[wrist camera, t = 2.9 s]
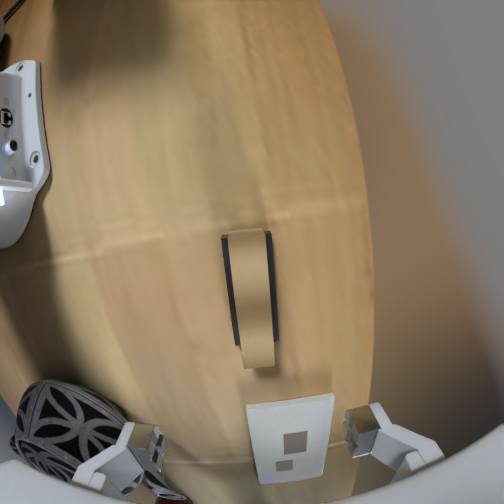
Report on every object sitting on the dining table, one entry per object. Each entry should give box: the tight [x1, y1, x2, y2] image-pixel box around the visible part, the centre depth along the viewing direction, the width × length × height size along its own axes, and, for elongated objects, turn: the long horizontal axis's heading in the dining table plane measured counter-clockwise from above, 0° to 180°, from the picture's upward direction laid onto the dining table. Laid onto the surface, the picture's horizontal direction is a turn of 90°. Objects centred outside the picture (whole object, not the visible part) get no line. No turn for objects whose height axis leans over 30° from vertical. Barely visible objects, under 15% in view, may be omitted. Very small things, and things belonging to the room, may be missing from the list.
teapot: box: [10, 379, 187, 500], centre depth 21 cm, size 19×31×15 cm, turn 104°
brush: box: [221, 228, 279, 369], centre depth 22 cm, size 11×4×4 cm, turn 5°
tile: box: [246, 392, 335, 485], centre depth 29 cm, size 20×10×1 cm, turn 5°
